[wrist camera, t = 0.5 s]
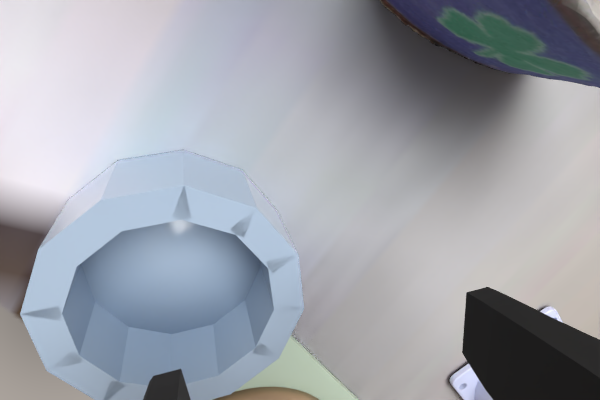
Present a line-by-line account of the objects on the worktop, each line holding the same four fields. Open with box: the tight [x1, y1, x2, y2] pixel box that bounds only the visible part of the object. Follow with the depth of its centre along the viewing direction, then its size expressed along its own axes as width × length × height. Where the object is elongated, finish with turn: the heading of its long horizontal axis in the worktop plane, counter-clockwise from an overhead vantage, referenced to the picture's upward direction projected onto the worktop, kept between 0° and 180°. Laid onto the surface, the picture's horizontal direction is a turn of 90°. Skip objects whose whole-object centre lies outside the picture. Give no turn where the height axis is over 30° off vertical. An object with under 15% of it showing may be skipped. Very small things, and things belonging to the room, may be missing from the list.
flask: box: [379, 0, 600, 88], centre depth 13 cm, size 9×3×11 cm, turn 64°
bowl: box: [20, 150, 304, 400], centre depth 17 cm, size 10×10×4 cm
